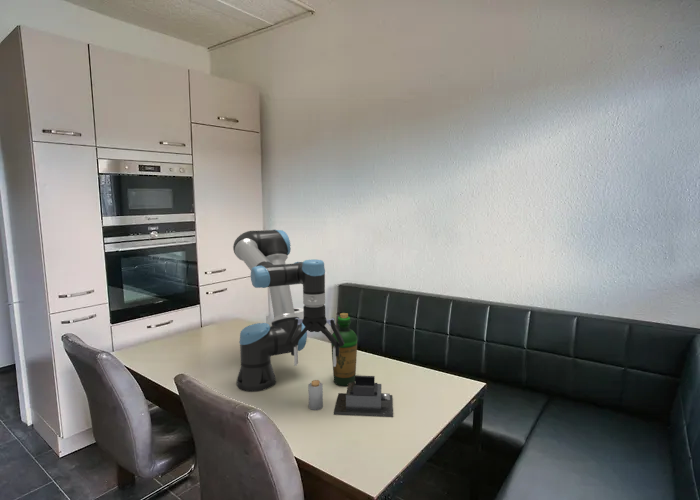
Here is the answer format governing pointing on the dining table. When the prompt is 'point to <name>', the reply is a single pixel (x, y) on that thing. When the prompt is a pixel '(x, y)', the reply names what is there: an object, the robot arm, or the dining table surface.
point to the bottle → (345, 353)
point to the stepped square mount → (364, 399)
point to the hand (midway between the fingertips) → (315, 364)
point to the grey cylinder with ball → (315, 395)
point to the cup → (299, 312)
